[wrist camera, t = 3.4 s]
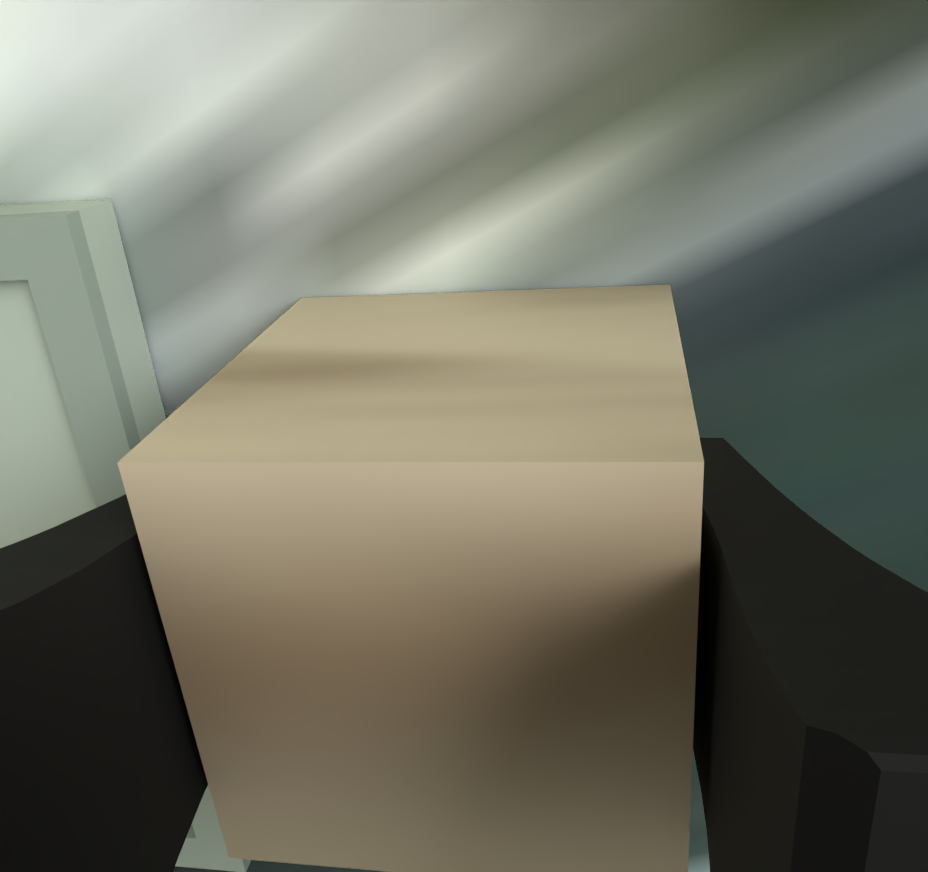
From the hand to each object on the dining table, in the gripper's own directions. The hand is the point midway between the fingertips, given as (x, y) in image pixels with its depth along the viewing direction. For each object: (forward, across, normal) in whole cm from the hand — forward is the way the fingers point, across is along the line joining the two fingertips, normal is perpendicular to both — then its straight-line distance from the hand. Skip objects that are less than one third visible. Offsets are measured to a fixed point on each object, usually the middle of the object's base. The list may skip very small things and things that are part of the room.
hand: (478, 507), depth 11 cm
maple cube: (+1, 0, 0) cm, 1 cm away
